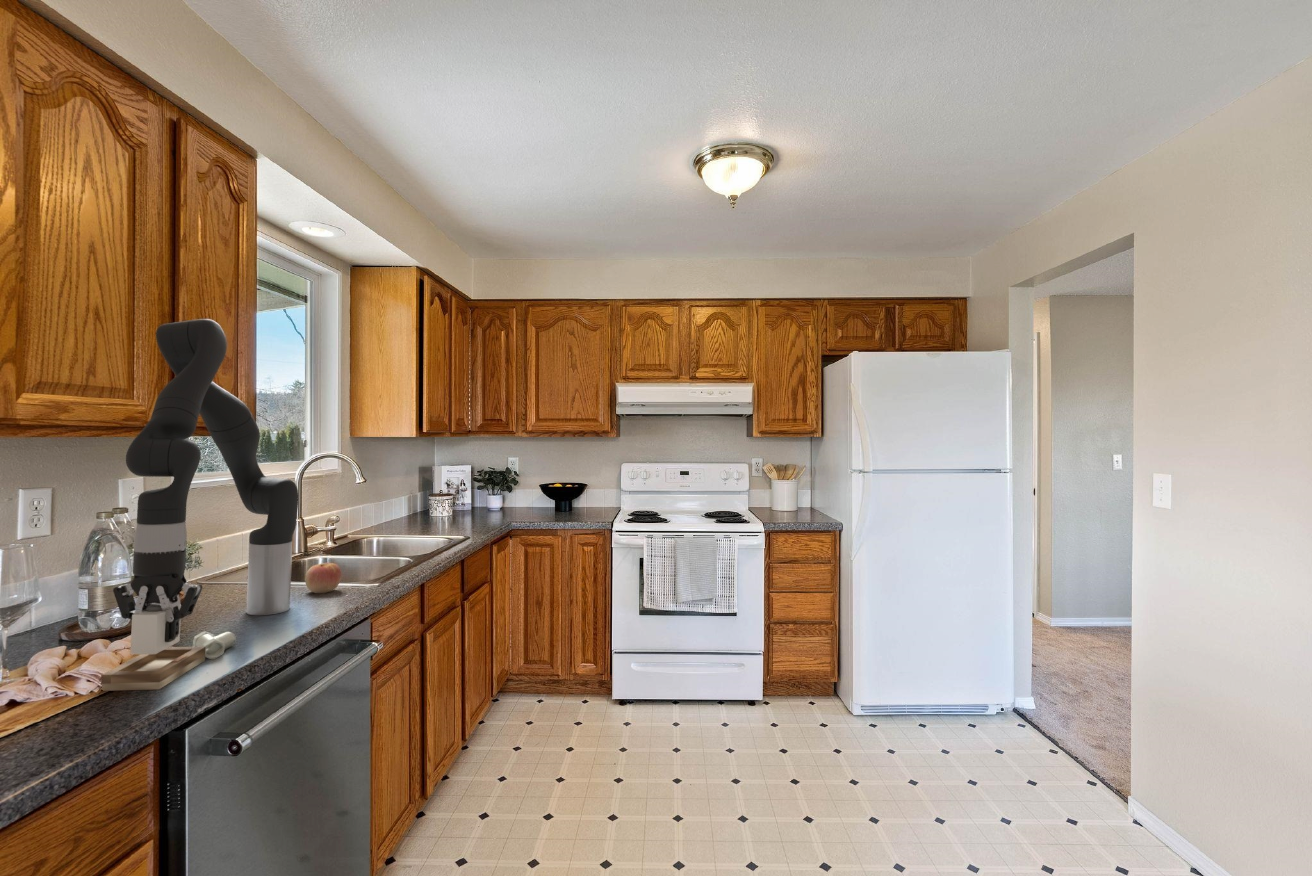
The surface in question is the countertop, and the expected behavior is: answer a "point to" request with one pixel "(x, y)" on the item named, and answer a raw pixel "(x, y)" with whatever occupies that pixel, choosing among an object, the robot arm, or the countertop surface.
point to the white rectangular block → (150, 631)
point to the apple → (323, 577)
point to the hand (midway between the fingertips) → (156, 640)
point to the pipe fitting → (214, 643)
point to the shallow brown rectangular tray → (153, 669)
